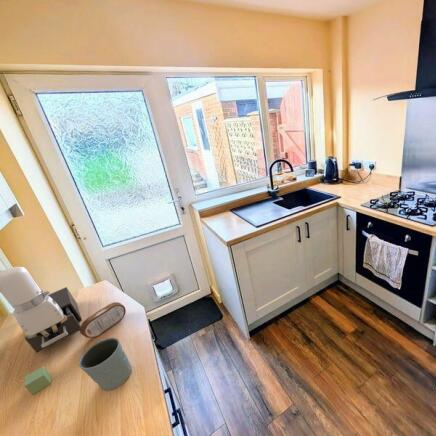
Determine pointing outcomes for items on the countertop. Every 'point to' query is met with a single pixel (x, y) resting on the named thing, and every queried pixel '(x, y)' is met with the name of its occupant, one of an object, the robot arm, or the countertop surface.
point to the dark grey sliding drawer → (65, 329)
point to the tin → (102, 320)
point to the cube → (37, 380)
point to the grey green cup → (106, 364)
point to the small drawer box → (66, 301)
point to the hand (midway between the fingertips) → (57, 339)
